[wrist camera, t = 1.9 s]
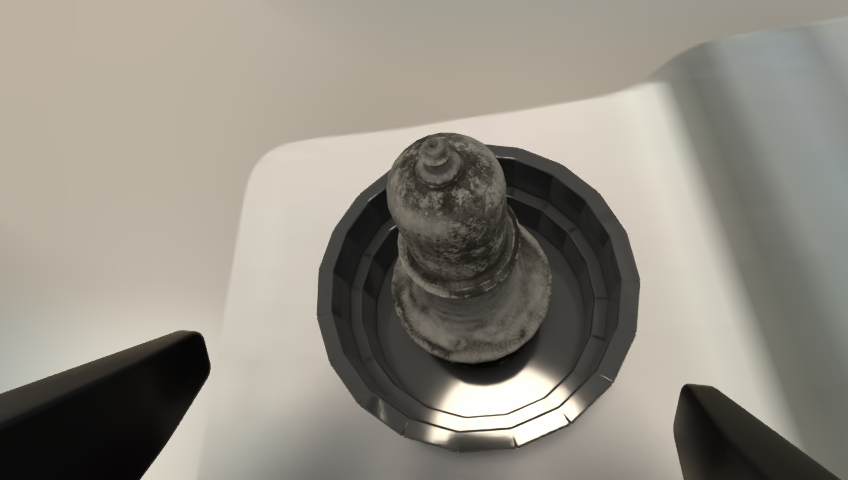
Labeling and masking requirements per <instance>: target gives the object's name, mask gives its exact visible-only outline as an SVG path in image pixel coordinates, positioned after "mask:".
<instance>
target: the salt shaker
mask: <svg viewBox="0 0 848 480" xmlns="http://www.w3.org/2000/svg"><path fill="white" fill-rule="evenodd" d="M386 192H387V202H388V208H389V211H390V213H391V215H392V218H393V220H394V222H395V224H396V226H397V228H398V230H399V236H398V250H399V257H398V259H397V262H396V264H395V266H394V271H393V277H392V283H391V289H392V300H393V306H394V309H395V311H396V314H397V316H398V319H399V322H400V324H401V325H402V326H403V328H404V329H405V330H406V332H407V333H408V335H409V336H410V337H411V339H412V340H413V341H414V342H416V343H417V344H418V345H420V346H421V347H422V348H424V349H425V350H426V351H427V352H429V353H430V354H433V355H435V356H438V357H440V358H443V359H444V360H445V361H447V362H449V363H452V364H454V365H456V366H459V367H461V368H468V369H477V370H480V369H487V368H493V367H497V366H499V365H501V364H503V363H506V362H508V361H510V360H512V359H513V358H514V357H515V356H516V355H517V354H519V353H520V352H521V351H522V350H523V349H524V348H525V346H526V345H527V343H528V342H529V340H530V339H531V338H532V337H533V336H534V334H535V333H536V331H537V330H538V328H539V327H540V325H541V324H542V322H543V321H544V319H545V317H546V314H547V311H548V308H549V304H550V301H551V298H552V275H551V271H550V267H549V263H548V259H547V257H546V255H545V253H544V251H543V250H542V248H541V246H540V245H539V243H538V241H537V240H536V239H535V238H534V237H533V236H532V235H531V234H530V233H529V232H528V231H527V230H526V229H525V228H524V227H523V226H521V225H520V224H518V220H517V218H516V216H515V214H514V212H513V211H512V209H511V207H510V206H509V205H508V204H507V201H506V181H505V177H504V173H503V170H502V168H501V165H500V164H499V162H498V160H497V159H496V157H495V155H494V154H493V152H492V151H491V150H490V149H489V148H487V147H486V146H485V145H484V144H483V143H481V142H479V141H478V140H476V139H474V138H472V137H469V136H465V135H461V134H456V133H438V134H433V135H428V136H426V137H424V138H422V139H419V140H417V141H416V142H414V143H413V144H412V145H410V146H409V147H407V148H406V149H405V150H404V151H403V152H402V153H401V154H400V156H399V157H398V158H397V159H396V160H395V162H394V164H393V166H392V168H391V170H390V172H389V174H388V180H387V185H386Z"/></svg>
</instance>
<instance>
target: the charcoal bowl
mask: <svg viewBox="0 0 848 480" xmlns="http://www.w3.org/2000/svg"><path fill="white" fill-rule="evenodd" d="M484 145H485V144H484ZM485 146H486V147H487V148H489V149H490V150H491V151H492V152H493V154H494V155H495V157H496V159H497V160H498V162H499V164H500V165H501V168H502V170H503V173H504V177H505V181H506V201H507V204H508V205H509V206H510V207H511V209H512V211H513V212H514V214H515V216H516V218H517V220H518V224H520V225H521V226H523V227H524V228H525V229H526V230H527V231H528V232H529V233H530V234H531V235H532V236H533V237H534V238H535V239H536V240H537V241H538V243H539V245H540V246H541V248H542V250H543V251H544V253H545V255H546V257H547V259H548V263H549V267H550V271H551V275H552V298H551V301H550V304H549V308H548V311H547V314H546V317H545V319H544V321H543V322H542V324H541V325H540V327H539V328H538V330H537V331H536V333H535V334H534V336H533V337H532V338H531V339H530V340H529V342H528V343H527V345H526V346H525V348H524V349H523V350H522V351H521V352H520V353H519V354H517V355H516V356H515V357H514V358H513V359H512V360H510V361H508V362H506V363H503V364H501V365H499V366H497V367H493V368H487V369H480V370H477V369H468V368H461V367H459V366H456V365H454V364H452V363H449V362H447V361H445V360H444V359H443V358H440V357H438V356H435V355H433V354H430V353H429V352H427V351H426V350H425V349H424V348H422V347H421V346H420V345H418V344H417V343H416V342H414V341H413V340H412V339H411V337H410V336H409V335H408V333H407V332H406V330H405V329H404V328H403V326H402V325H401V324H400V322H399V319H398V316H397V314H396V311H395V309H394V306H393V300H392V289H391V283H392V277H393V271H394V266H395V264H396V262H397V259H398V257H399V250H398V236H399V230H398V228H397V226H396V224H395V222H394V220H393V218H392V215H391V213H390V211H389V208H388V202H387V192H386V185H387V180H388V174H389V172H390V170H391V169H390V170H389V171H388V172H387V173H385V174H384V175H383V176H382V177H380V178H379V179H378V180H377V181H375V182H374V183H373V184H372V185H370V186H369V187H368V188H367V189H365V190H364V191H363V192H362V193H360V195H359V196H358V197H357V198H356V199H355V201H354V202H353V204H352V205H351V206H350V208H349V209H348V210H347V212H346V213H345V215H344V216H343V217H342V219H341V220H340V221H339V223H338V224H337V226H336V227H335V229H334V230H333V232H332V235H331V238H330V241H329V243H328V246H327V249H326V252H325V254H324V257H323V260H322V263H321V266H320V268H319V277H318V299H317V316H318V317H317V320H318V323H319V327H320V330H321V334H322V337H323V341H324V345H325V348H326V352H327V355H328V359H329V362H331V363H330V364H331V366H332V367H333V369H334V370H335V372H336V373H337V375H338V376H339V377H340V379H341V380H342V382H343V383H344V385H345V386H346V388H347V389H348V390H349V392H350V393H351V395H352V396H353V398H354V399H355V401H356V402H357V403H358V404H359V405H360V406H361V407H362V408H364V409H365V410H366V411H368V412H369V413H370V414H372V415H373V416H375V417H376V418H377V419H379V420H380V421H382V422H383V423H384V424H386V425H387V426H388V427H390V428H391V429H393V430H394V431H395V432H397V433H398V434H400V435H401V436H404V437H405V438H409V439H412V440H416V441H419V442H423V443H426V444H430V445H433V446H436V447H440V448H443V449H447V450H450V451H454V452H476V451H491V450H507V449H515V448H516V447H517V448H520V447H522V446H524V445H527V444H529V443H531V442H533V441H536V440H538V439H540V438H543V437H545V436H547V435H549V434H552V433H554V432H556V431H558V430H561V429H563V428H565V427H568V426H569V425H570V424H572V423H574V422H575V421H576V420H577V419H578V418H579V417H580V416H581V415H582V414H583V413H584V412H585V411H586V410H587V409H588V408H589V407H590V406H591V405H592V404H593V403H594V402H595V401H596V400H597V399H598V398H599V397H600V396H601V395H602V394H603V393H605V392H606V391H607V390H608V389H609V388H610V387H611V386H612V383H614V381H615V379H616V377H617V375H618V372H619V370H620V368H621V366H622V364H623V362H624V360H625V357H626V355H627V353H628V351H629V349H630V347H631V345H632V342H633V340H634V338H635V336H636V334H635V333H636V332H637V319H638V306H639V292H640V277H639V274H638V270H637V267H636V263H635V260H634V256H633V253H632V249H631V246H630V242H629V239H628V235H627V233H626V231H625V229H624V228H623V226H622V225H621V224H620V222H619V221H618V219H617V218H616V216H615V215H614V213H613V212H612V211H611V209H610V208H609V206H608V205H607V203H606V202H605V201H604V199H603V198H602V196H601V195H600V193H598V192H597V191H596V190H595V189H593V188H592V187H591V186H590V185H588V184H587V183H586V182H584V181H583V180H582V179H580V178H579V177H578V176H577V175H575V174H574V173H573V172H571V171H570V170H569V169H567V168H566V167H565V166H563V165H561V164H560V163H557V162H554V161H552V160H549V159H547V158H544V157H542V156H539V155H536V154H534V153H531V152H529V151H526V150H523V149H519V148H515V147H505V146H495V145H485Z"/></svg>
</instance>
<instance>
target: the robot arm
mask: <svg viewBox="0 0 848 480" xmlns="http://www.w3.org/2000/svg"><path fill="white" fill-rule="evenodd" d="M210 369H211V367H210V360H209V356H208V352H207V348H206V345H205V341H204V337H203V336H202V335H201V333H199V332H196V331H186V330H181V331H176V332H174V333H171V334H168V335H165V336H162V337H160V338H157V339H154V340H151V341H148V342H146V343H143V344H140V345H137V346H134V347H131V348H128V349H126V350H123V351H120V352H117V353H115V354H112V355H109V356H106V357H103V358H100V359H98V360H95V361H92V362H89V363H86V364H83V365H80V366H78V367H75V368H72V369H69V370H66V371H64V372H61V373H58V374H55V375H52V376H49V377H47V378H44V379H41V380H38V381H36V382H32V383H30V384H27V385H24V386H21V387H18V388H16V389H13V390H10V391H7V392H5V393H2V394H0V480H140V479H141V478H142V476H143V475H144V474H145V472H146V471H147V470H148V468H149V467H150V466H151V464H152V463H153V462H154V460H155V459H156V458H157V456H158V455H159V454H160V452H161V451H162V449H163V448H164V446H165V445H166V444H167V442H168V441H169V439H170V437H171V436H172V435H173V433H174V431H175V430H176V428H177V426H178V425H179V423H180V422H181V420H182V419H183V417H184V415H185V414H186V412H187V410H188V409H189V407H190V406H191V404H192V402H193V401H194V399H195V398H196V396H197V394H198V393H199V391H200V390H201V388H202V386H203V385H204V383H205V381H206V380H207V378H208V376H209V374H210ZM673 429H674V439H675V443H676V448H677V452H678V456H679V461H680V465H681V470H682V474H683V478H684V480H841V479H839V478H838V477H837V476H835V475H834V474H832V473H831V472H830V471H828V470H827V469H826V468H824V467H823V466H822V465H820V464H819V463H817V462H816V461H815V460H813V459H812V458H811V457H809V456H808V455H806V454H805V453H804V452H802V451H801V450H800V449H798V448H797V447H796V446H794V445H793V444H791V443H790V442H789V441H787V440H786V439H785V438H783V437H782V436H780V435H779V434H778V433H776V432H775V431H774V430H772V429H771V428H770V427H768V426H767V425H765V424H764V423H763V422H761V421H760V420H759V419H757V418H756V417H754V416H753V415H752V414H750V413H749V412H748V411H746V410H745V409H744V408H742V407H741V406H739V405H738V404H737V403H735V402H734V401H733V400H731V399H730V398H728V397H727V396H726V395H724V394H723V393H722V392H720V391H719V390H718V389H716V388H714V387H712V386H707V385H697V384H686V385H684V386H683V387H682V389H681V392H680V397H679V401H678V406H677V410H676V415H675V420H674V427H673Z"/></svg>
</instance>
